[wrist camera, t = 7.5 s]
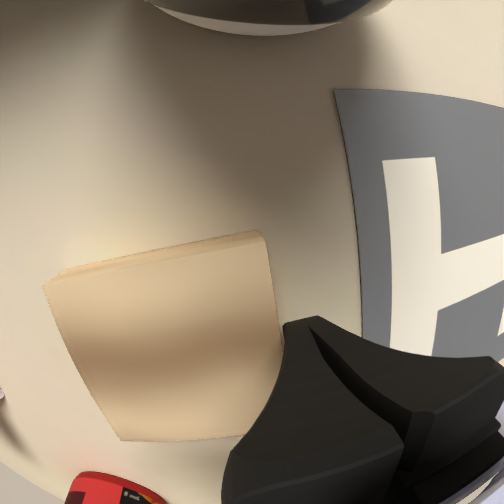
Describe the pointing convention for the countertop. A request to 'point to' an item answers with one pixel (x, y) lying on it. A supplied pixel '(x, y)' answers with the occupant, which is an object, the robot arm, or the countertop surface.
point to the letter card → (428, 220)
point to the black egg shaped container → (268, 14)
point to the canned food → (108, 491)
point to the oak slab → (174, 337)
